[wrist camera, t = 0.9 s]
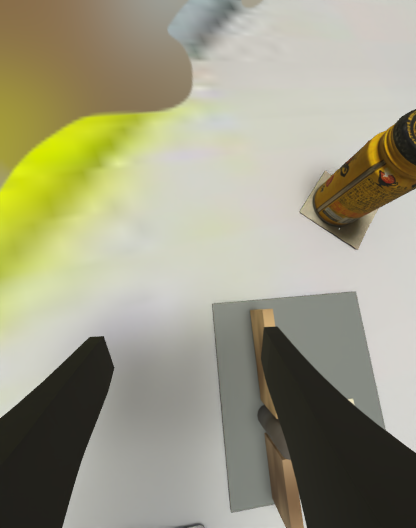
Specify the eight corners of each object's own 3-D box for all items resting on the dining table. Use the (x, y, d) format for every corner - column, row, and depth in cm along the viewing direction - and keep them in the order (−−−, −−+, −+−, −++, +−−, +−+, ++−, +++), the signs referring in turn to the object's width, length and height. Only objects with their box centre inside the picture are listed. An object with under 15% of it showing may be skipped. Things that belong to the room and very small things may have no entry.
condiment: (324, 171, 30) (413, 82, 18) (378, 207, 30) (504, 139, 18) (298, 212, 28) (378, 143, 17) (355, 250, 28) (478, 207, 16)
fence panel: (270, 399, 23) (288, 417, 19) (261, 400, 23) (276, 418, 19) (258, 309, 25) (272, 308, 21) (249, 310, 25) (262, 309, 21)
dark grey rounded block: (287, 495, 22) (319, 551, 16) (267, 499, 21) (292, 557, 16) (275, 403, 23) (300, 428, 18) (256, 405, 23) (276, 432, 18)
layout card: (393, 478, 23) (397, 480, 23) (230, 510, 21) (231, 513, 21) (353, 291, 27) (356, 291, 26) (212, 303, 25) (212, 303, 24)
